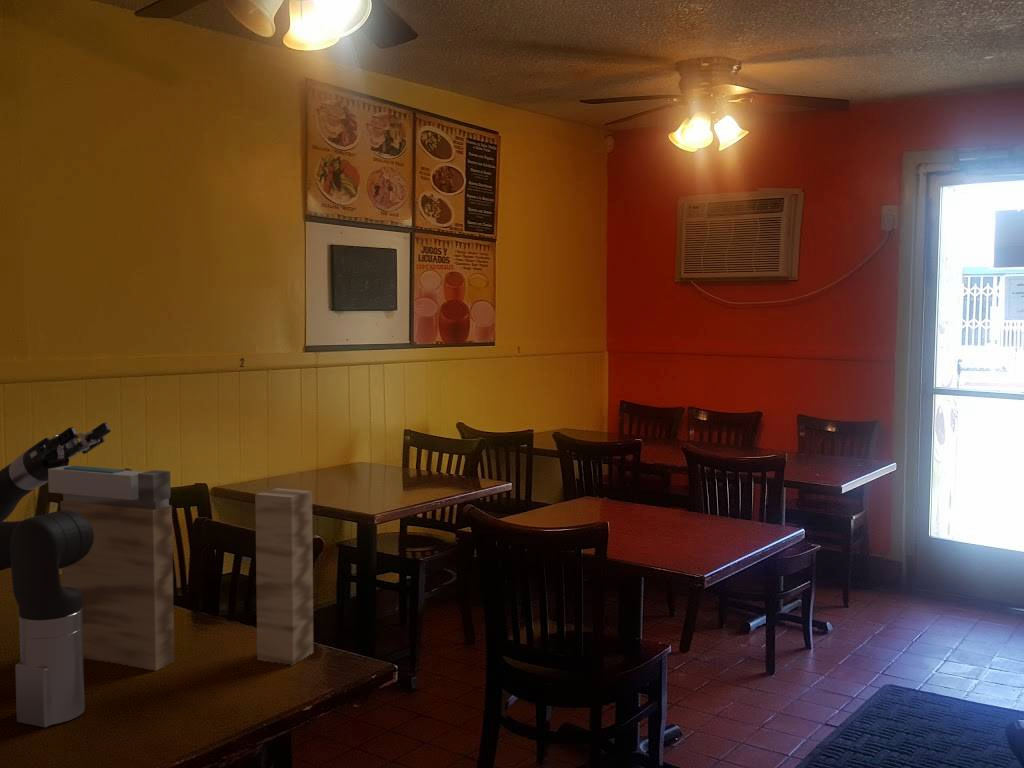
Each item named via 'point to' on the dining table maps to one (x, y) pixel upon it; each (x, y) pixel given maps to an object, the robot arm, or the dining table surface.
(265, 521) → the stand
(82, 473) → the block
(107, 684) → the dining table surface
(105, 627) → the rail post
